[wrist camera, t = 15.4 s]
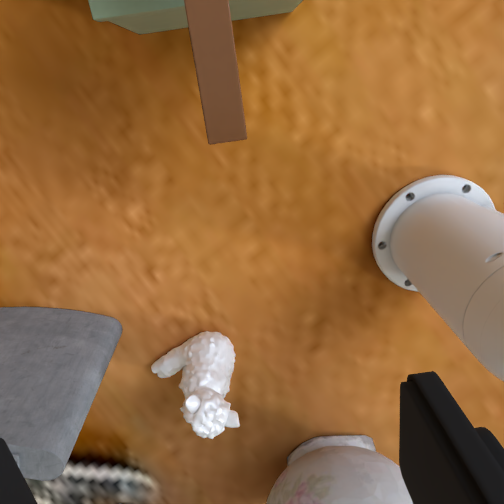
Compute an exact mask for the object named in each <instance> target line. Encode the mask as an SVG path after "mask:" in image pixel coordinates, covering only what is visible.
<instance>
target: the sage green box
mask: <svg viewBox="0 0 504 504" xmlns="http://www.w3.org/2000/svg"><path fill="white" fill-rule="evenodd" d="M302 1H303V0H229V6H230V14H231V21H234V20H241V19H247V18H254V17H261V16H267V15H274V14H281V13H288V12H292V11H293V10H294V9H295V8H296V7H297V6H298V5H299V4H300V3H301V2H302ZM88 2H89V6H90V9H91V13H92V17H93V20H95V21H98V22H103V21H109V22H111V23H114V24H116V25H118V26H121V27H123V28H125V29H128V30H130V31H132V32H135V33H137V34H147V33H154V32H160V31H167V30H174V29H180V28H187V27H188V22H187V16H186V10H185V4H184V0H88Z"/></svg>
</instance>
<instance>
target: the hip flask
mask: <svg viewBox="0 0 504 504" xmlns="http://www.w3.org/2000/svg"><path fill="white" fill-rule="evenodd" d="M121 334H122V326H121V324H120V322H119V321H118V320H116V319H114V318H112V317H108V316H104V315H99V314H94V313H89V312H83V311H76V310H69V309H58V308H43V307H3V308H0V438H2V439H4V440H5V442H6V444H7V446H8V448H9V450H10V451H11V453H12V455H13V457H14V459H15V461H16V463H17V465H18V467H19V469H20V471H21V473H22V475H23V477H24V478H29V479H35V480H42V481H46V480H52V479H55V478H57V477H59V476H60V475H61V474H62V473H63V471H64V468H65V466H66V464H67V461H68V459H69V457H70V454H71V452H72V450H73V447H74V445H75V442H76V440H77V438H78V435H79V433H80V431H81V428H82V426H83V424H84V421H85V419H86V416H87V414H88V412H89V409H90V407H91V405H92V402H93V400H94V398H95V395H96V393H97V390H98V388H99V386H100V383H101V381H102V379H103V376H104V374H105V372H106V369H107V367H108V365H109V362H110V360H111V357H112V355H113V353H114V350H115V348H116V346H117V343H118V341H119V339H120V336H121Z"/></svg>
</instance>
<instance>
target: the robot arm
mask: <svg viewBox="0 0 504 504" xmlns="http://www.w3.org/2000/svg"><path fill="white" fill-rule="evenodd" d="M463 186H464V187H463ZM462 187H463V188H462ZM408 193H409V195H408V196H407V197H406V195H407V194H408ZM380 242H382V243H381V244H379V243H380ZM372 249H373V254H374V258H375V260H376V262H377V265H378V266H379V268H380V269H381V271H382V272H383V273H384V274H385V276H386V277H387V278H388V279H389V280H390V281H392V282H393V283H395V284H396V285H398V286H400V287H402V288H404V289H407V290H412V291H417V292H420V293H421V294H422V296H423V297H424V298H425V299H426V300H427V301H428V303H429V304H430V305H431V306H432V307H433V308H434V310H435V311H436V312H437V313H438V314H439V315H440V317H441V318H442V319H443V320H444V321H445V322H446V324H447V325H448V326H449V327H450V328H451V329H452V330H453V332H454V333H455V334H456V335H457V336H458V337H459V339H460V340H461V341H462V342H463V343H464V344H465V346H466V347H467V348H468V349H469V350H470V351H471V353H472V354H473V355H474V356H475V357H476V358H477V359H478V360H479V362H480V363H481V364H482V365H483V366H484V367H485V368H486V369H487V370H488V371H489V372H491V373H492V374H493V375H495V376H496V377H497V378H499V379H501V380H502V381H504V214H502V213H500V212H499V211H497V210H495V207H494V204H493V202H492V201H491V199H490V197H489V196H488V194H487V193H486V192H485V191H484V190H483V189H482V188H481V187H479V186H478V185H476V184H475V183H473V182H471V181H469V180H467V179H464V178H461V177H457V176H453V175H436V176H429V177H426V178H423V179H420V180H417V181H415V182H413V183H411V184H409V185H407V186H405V187H404V188H403V189H401V190H400V191H399V192H397V193H396V194H395V195H394V196H393V197H392V198H391V199H390V200H389V201H388V202H387V203H386V205H385V206H384V208H383V209H382V211H381V212H380V214H379V216H378V218H377V221H376V223H375V226H374V230H373V235H372ZM399 465H400V470H401V474H402V478H403V480H404V483H405V485H406V488H407V490H408V492H409V495H410V497H411V499H412V502H413V504H504V448H503V447H502V446H501V444H500V443H499V442H498V440H497V439H496V437H495V436H494V435H493V434H492V433H491V432H490V431H489V430H488V429H486V428H485V427H478V428H474V427H473V426H472V424H471V423H470V421H469V420H468V418H467V417H466V416H465V414H464V413H463V411H462V410H461V408H460V407H459V405H458V404H457V402H456V401H455V400H454V398H453V397H452V395H451V394H450V392H449V391H448V389H447V388H446V386H445V385H444V383H443V382H442V381H441V379H440V378H439V376H438V375H437V374H436V373H435V372H433V371H432V372H425V373H418V374H410V375H408V377H407V382H401V384H400V448H399ZM0 504H37V502H36V500H35V498H34V496H33V494H32V492H31V490H30V488H29V486H28V485H27V483H26V481H25V479H24V477H23V475H22V473H21V471H20V469H19V467H18V465H17V463H16V461H15V459H14V457H13V455H12V453H11V451H10V450H9V448H8V446H7V444H6V442H5V440H4V439H2V438H0Z"/></svg>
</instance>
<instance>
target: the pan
mask: <svg viewBox="0 0 504 504" xmlns="http://www.w3.org/2000/svg"><path fill="white" fill-rule="evenodd" d="M184 4H185V10H186V16H187V22H188V28H189V33H190V39H191V45H192V51H193V57H194V62H195V68H196V74H197V80H198V86H199V91H200V97H201V103H202V109H203V115H204V121H205V126H206V132H207V138H208V144H210V145H211V144H217V143H224V142H231V141H238V140H245V139H247V133H246V125H245V118H244V110H243V103H242V95H241V88H240V81H239V73H238V66H237V58H236V51H235V43H234V36H233V28H232V21H231V14H230V6H229V0H184Z"/></svg>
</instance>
